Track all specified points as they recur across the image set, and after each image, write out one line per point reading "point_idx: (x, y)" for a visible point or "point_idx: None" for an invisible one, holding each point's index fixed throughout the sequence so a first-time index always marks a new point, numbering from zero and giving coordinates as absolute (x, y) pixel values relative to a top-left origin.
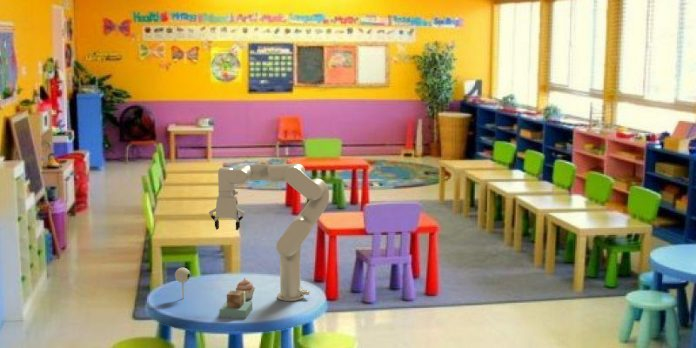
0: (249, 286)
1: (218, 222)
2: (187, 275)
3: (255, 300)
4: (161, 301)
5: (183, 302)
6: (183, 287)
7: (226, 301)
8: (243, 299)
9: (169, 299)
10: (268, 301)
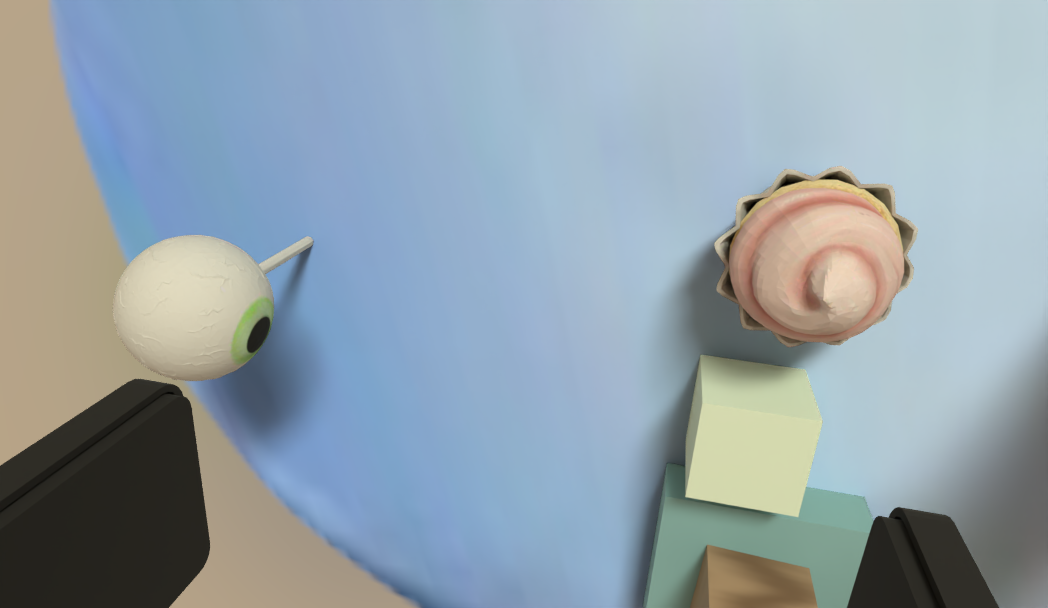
0: (867, 328)
1: (21, 581)
2: (249, 355)
3: None
4: None
5: (339, 327)
6: (267, 272)
7: (666, 504)
8: (813, 602)
9: None
10: (1016, 319)
